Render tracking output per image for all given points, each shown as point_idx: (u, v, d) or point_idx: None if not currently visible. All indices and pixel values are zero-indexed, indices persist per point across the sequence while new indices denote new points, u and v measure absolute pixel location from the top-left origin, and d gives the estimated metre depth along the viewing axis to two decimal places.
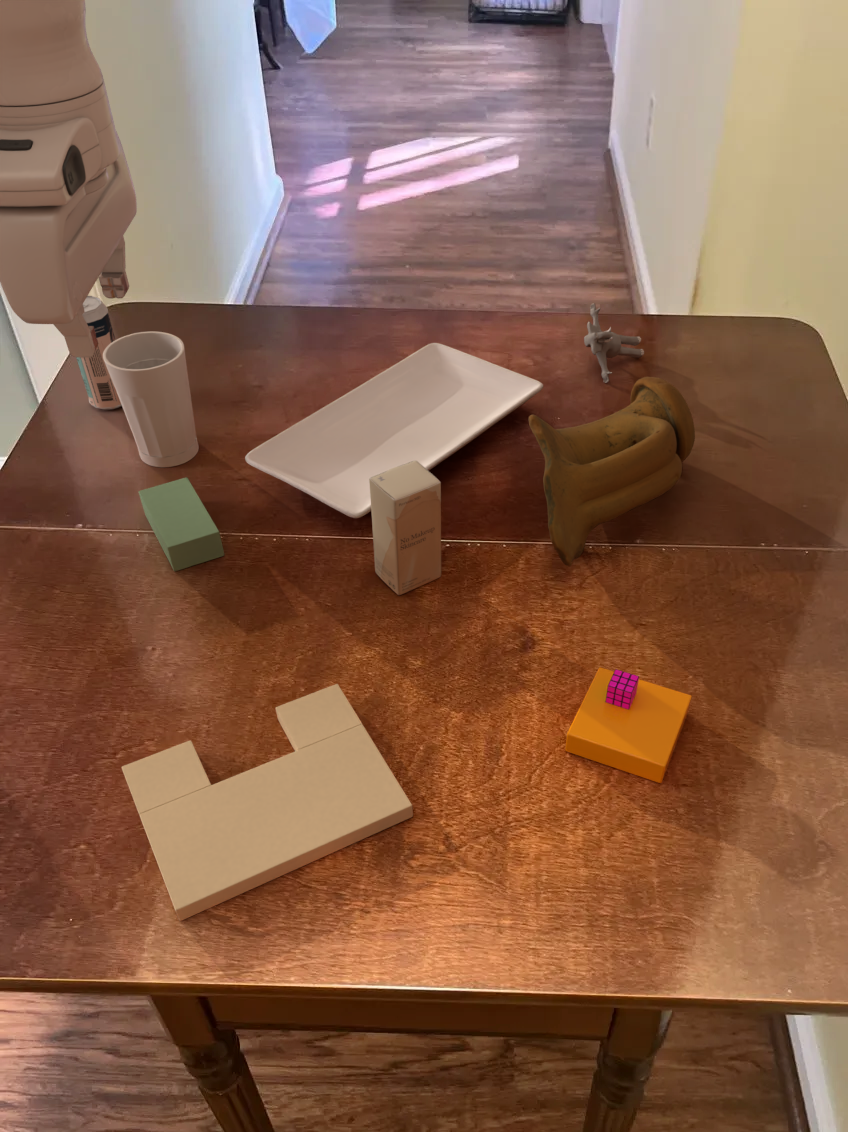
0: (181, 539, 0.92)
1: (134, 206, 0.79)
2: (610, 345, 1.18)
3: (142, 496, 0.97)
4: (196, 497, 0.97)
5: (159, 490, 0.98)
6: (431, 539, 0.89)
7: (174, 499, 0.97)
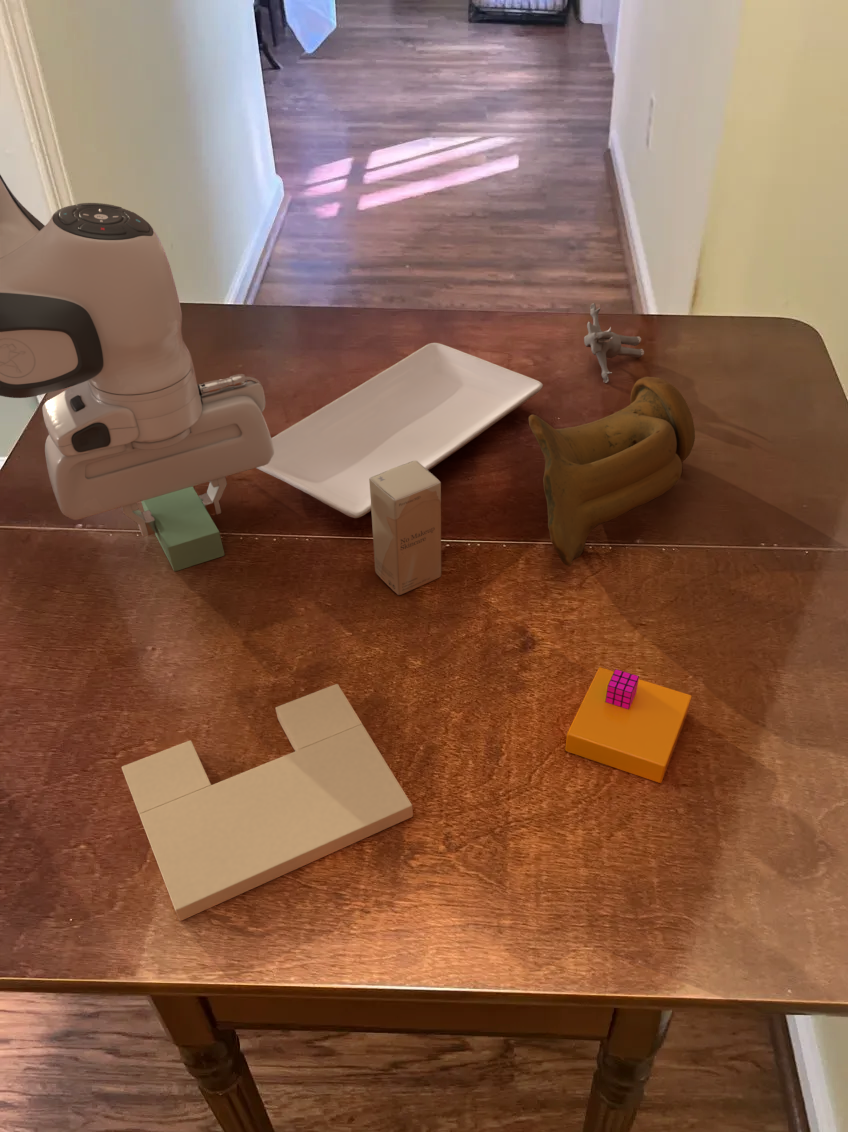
0: (181, 539, 0.92)
1: (259, 460, 0.94)
2: (610, 345, 1.18)
3: None
4: (196, 497, 0.97)
5: None
6: (431, 539, 0.89)
7: (174, 499, 0.97)
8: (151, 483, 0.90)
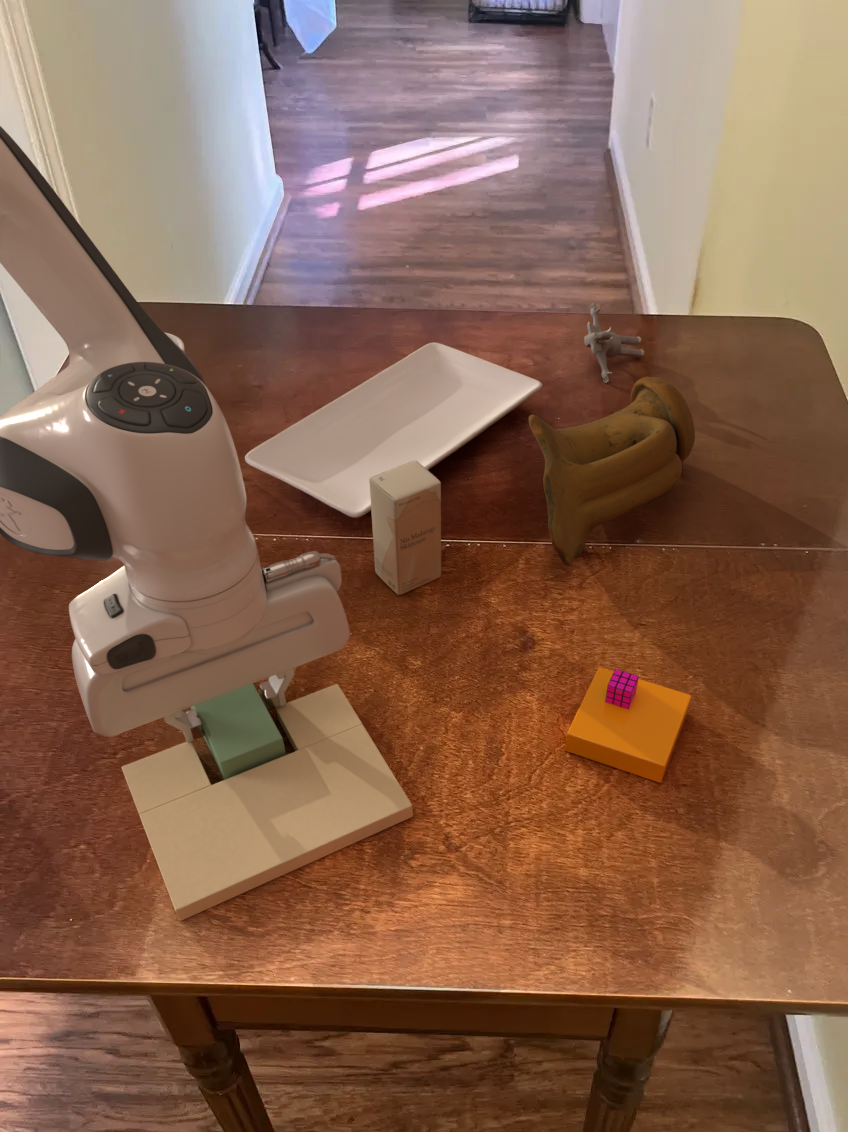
0: (236, 750, 0.75)
1: (333, 646, 0.77)
2: (610, 345, 1.18)
3: None
4: (251, 686, 0.79)
5: None
6: (431, 539, 0.89)
7: None
8: (203, 687, 0.72)
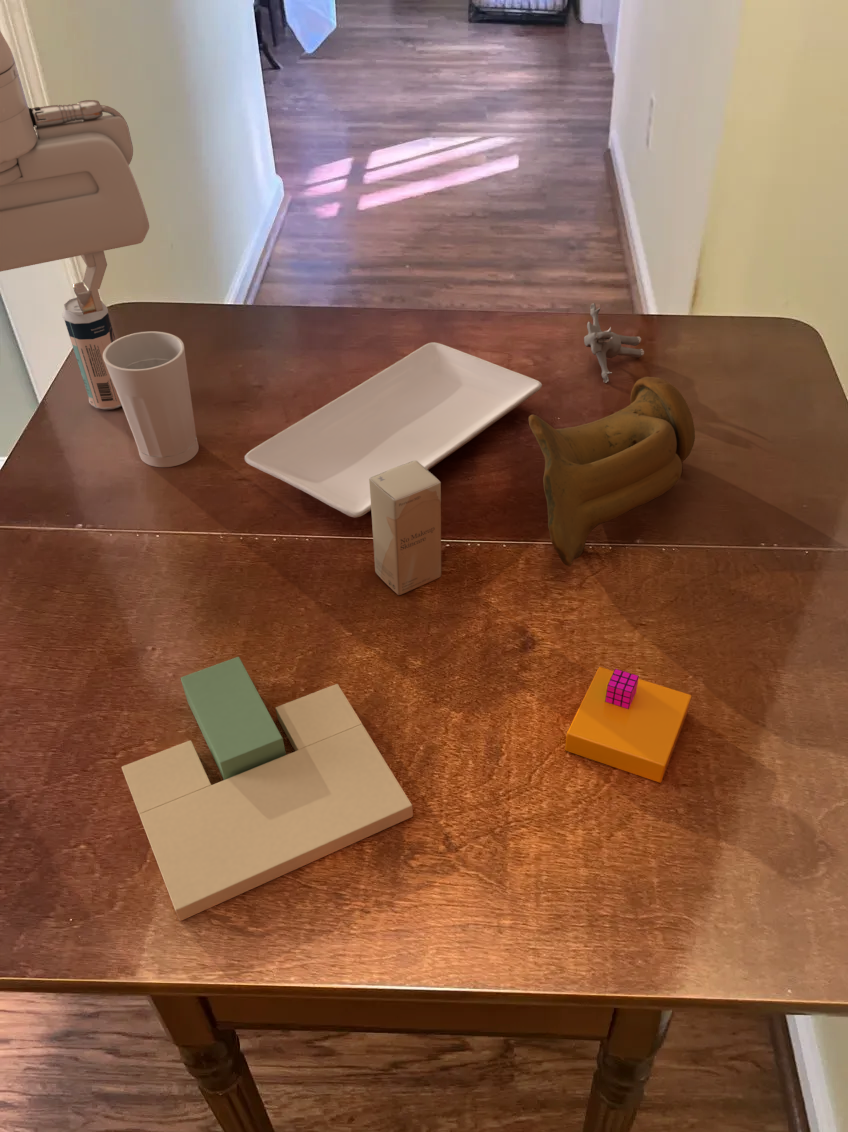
0: (236, 750, 0.75)
1: (128, 234, 0.70)
2: (610, 345, 1.18)
3: (185, 685, 0.79)
4: (251, 686, 0.79)
5: (206, 676, 0.80)
6: (431, 539, 0.89)
7: (224, 689, 0.79)
8: None
